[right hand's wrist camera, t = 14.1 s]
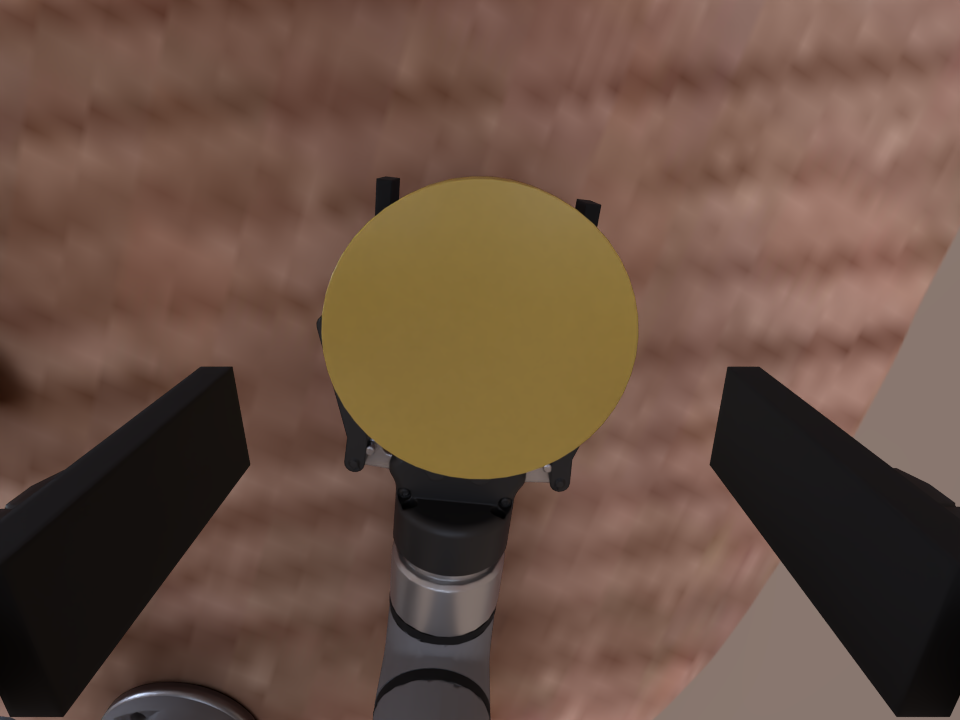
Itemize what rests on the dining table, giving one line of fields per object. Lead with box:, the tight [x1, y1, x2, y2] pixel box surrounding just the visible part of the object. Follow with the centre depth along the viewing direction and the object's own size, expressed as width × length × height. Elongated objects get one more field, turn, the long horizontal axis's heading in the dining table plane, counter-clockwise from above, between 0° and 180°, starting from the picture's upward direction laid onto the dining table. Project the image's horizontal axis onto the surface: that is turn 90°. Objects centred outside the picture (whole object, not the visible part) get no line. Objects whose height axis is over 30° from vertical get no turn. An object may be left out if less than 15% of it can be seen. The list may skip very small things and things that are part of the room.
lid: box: [321, 176, 638, 479], centre depth 19 cm, size 11×11×2 cm
